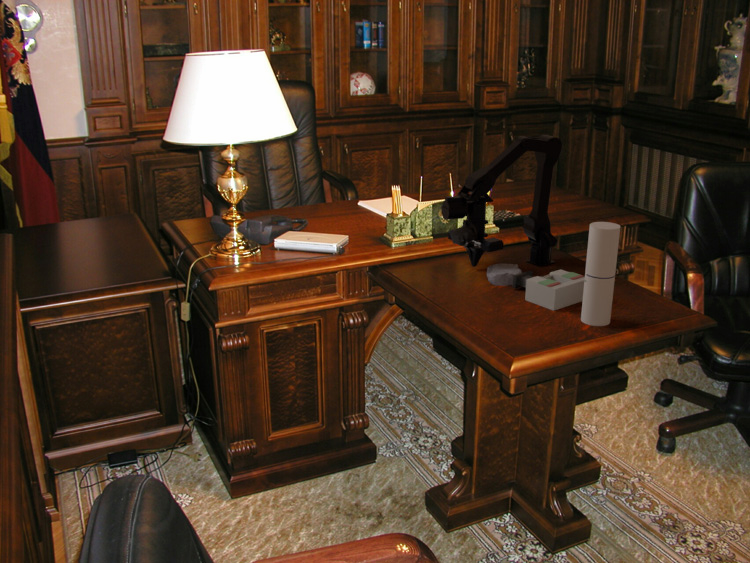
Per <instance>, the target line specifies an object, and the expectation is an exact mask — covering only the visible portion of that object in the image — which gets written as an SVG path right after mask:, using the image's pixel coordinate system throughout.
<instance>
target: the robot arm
mask: <svg viewBox="0 0 750 563" xmlns="http://www.w3.org/2000/svg"><path fill="white" fill-rule="evenodd" d="M562 151H563V142H562V140H561V139H560V138H559V137H556V136H552V135H548V134H541V135H539V136H538V137H537V136H524V135H520V136H517V137H516V138H515V139H514V141H513V142H512V143H511V144H509V145H508V146H507V147H506V148H505V149H504V150H502V152H501V153H499V155H498V156H496V157H495V158H493V160H492V161H491V162H489V164H487V165H486V166H485V167H482V168H479V169H477V170H475V171H473V172H472V173H470V174H469V175H468V176H467V177H466V178H465V179H464V184H463V185H462V187H461V189H460V190H459V192H458V193H457V195H456V196H448V195H447V196H444V200H443V202H442V204H441V209H440V210H441V216H442V218H443V220H444V221H448V220H449V221H450V220H460V219H463V221H462V225H461V226H460V227H457V228H453V229H450V230H449V232H448V233H447V239H448V240H450V241H451V242H452V244H454V245H458V246H459V247H463V248H464V249H465V250H466V252H467V255H468V258H469V261H470V264H471V266H472V267H473V268H474V267H477V265H478V264H479V261H480V260H481V258H482V257H483V255H484V253H485V252H488V253H493V252H497V251H500V250H504V241H503V240H502V239H501V238H497V237H490V238H487V237H489V236H488V235H489V233H487V232H486V225H487V224H488V225H489V220H488V219H486V217H487V215H486V214H487V203H493V202H494V199H493V198H492V197H491V196H490V195H489V193H490V191H491V190H492V189H493V187H495V185H496V181H497V180H498V178H499V177H500V176H501V175H502V174H503V173H505V172H506V171H507V169H509V168H510V167H511V166H512V165H514V164H515V162H517V160H519V159H521V158H522V156H523V155H524V154H526V153H527V152H533V153H534V158H535V160H536V164H537V167H536V175H535V182H534V192H533V198H532V208H531V211H530V213H529V214H528V215H524V216H523V224H522V227H521V228H522V229H523V233H524V234H525V236H526V237H527V240H528V241H529V242H531V245H530V247H531V248H530V250H529V252H530V253H529V259H526V263H530V264H533V265H537V266H539V267H544V266H548V265H552V264H555V260H552V251H553V248H554V247H556V245H557V243H558V239H557V238H556V237H555V236H554V234H552V232H551V231H552V230H551V229H552V227H551V226H552V225H551V220H550V217H549V206H550V198H551V190H552V183H553V177H554V176H553V174H554V168H555V166H556V164H557V163H558V162H559V159H560V157H561V154H562ZM464 218H466V219H464Z"/></svg>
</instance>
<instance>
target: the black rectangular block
mask: <svg viewBox="0 0 750 563" xmlns="http://www.w3.org/2000/svg"><path fill="white" fill-rule="evenodd" d="M533 273H534V272H533V270H527V271H523V272H522V273H519V274H516V275H513V285H512V289H515V290H516V289H519V288H522V287H523V288H525V289H526V280H527V279H529V278H533V277H534V276H533ZM540 277H542V278H545V279H552V275H551V274H550V273H549V274H546V275H541V276H540Z"/></svg>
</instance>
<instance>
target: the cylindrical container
mask: <svg viewBox="0 0 750 563" xmlns="http://www.w3.org/2000/svg"><path fill="white" fill-rule="evenodd" d="M588 230H589V231H588V241H587V251H586V259H585V260H586V261H585V271H584V272H585V273H584V277H585V281H584V291H583V301H581V302H582V303H581V304H582V306H581V313H580V321H581V322H582V323H583V324H585V325H589V326H592V327H605V326H608V325H609V324H611V316H612V307H613V300H614V298H613V297H614V289H615V288H614V287H615V278H616V271H617V260H618V254H619V252H618V251H619V243H620V234H621V225H620V224H618V223H614V222H610V221H595V222H594V221H593V222H591V223H590V224H589V229H588Z"/></svg>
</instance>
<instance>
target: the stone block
mask: <svg viewBox="0 0 750 563" xmlns="http://www.w3.org/2000/svg"><path fill="white" fill-rule="evenodd" d="M519 273H523V272H522V269H521V268H519V265H518V264H517V263H515V264H513V263H505V262H504V263H502V262H501V263H496V264H491V265H489V266H487V270H486V277H487V280H488V283H490V284H491V285H493V286H501V287H502V286H503V287H505V286H513V275H516V274H519Z"/></svg>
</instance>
